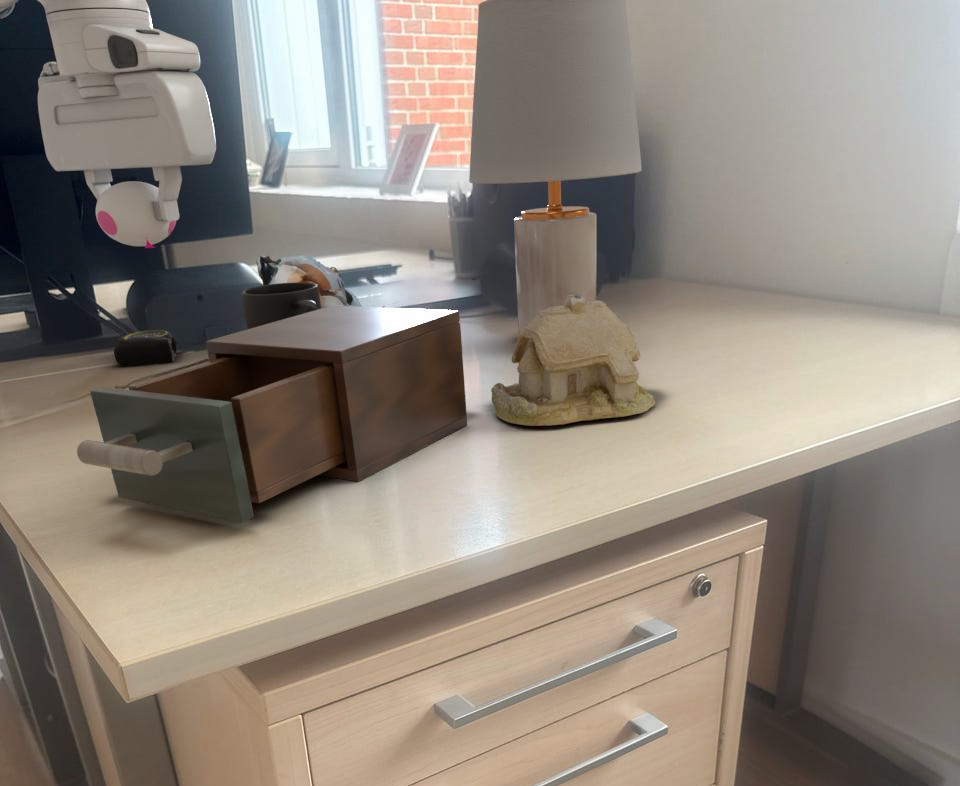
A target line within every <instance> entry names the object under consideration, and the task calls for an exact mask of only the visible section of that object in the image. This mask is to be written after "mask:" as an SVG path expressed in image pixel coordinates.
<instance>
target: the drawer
mask: <svg viewBox="0 0 960 786" xmlns="http://www.w3.org/2000/svg"><path fill="white" fill-rule="evenodd" d="M89 393H90V398H91V400H92V405H93V409H94V411H95V415H96V416H95V417H96V419H97V422H98V426H99V430H100V433H101V437H102V441H98V440H92V439H84V440H83V441H80V443H79V444H78V446H77V449H76V454H77V458H78V460H79V461H80V462H81V463H83V464H85V465H90V466H95V467H101V468H106V469H110V470H111V474H112V479H113V481H114V485H115V489H116V492H117V496H118V498H119V499H123V500H127V501H128V500H129V501H133V502H138V503H142V504H143V503H144V504H149V505H153V506H158V507H162V508H168V509H174V510H178V511H182V512H187V513H193V514H197V515H202V516H206V517H212V518H217V519H220V520H221V519H222V520H226V521H227V520H228V521H232V522H237V523H245V522H247V521H249V520H251V519H253V518H254V517H255V515H254V509H253V505H252V503H256V504H261V503H263V502H265V501H267V500H270V499H272V498H274V497H276V496H277V495H279V494H282V493H283V492H286V491H288V490H290V489H292V488H294V487H296V486H298V485H300V484H302V483H305V482H307V481H308V480H310V479H312V478H314V477H316V476H317V477H318V476H320V475H319V474H321V473H323V472H325V471H327V470H329V469H331V468H333V467H335V466H337V465H339V464H341V463H343V462H346V461H347V458H346V451H345V444H344V437H343V429H342V422H341V415H340V408H339V401H338V394H337V386H336V379H335V372H334V365H333V363H329V362H317V361H305V360H292V359H280V358H268V357H256V356H243V355H229V356H226V357H223V358H219V359H216V360H213V361H210V362H209V361H206V362H204V363H203V362H202V363H200V364H197V365H193V366H190V367H187V368H183V369H180V370H177V371H174V372H171V373H170V372H169V373H167V374H164V375H161V376H158V377H154V378H151V379H147V380H143V381H141V382H138V383H135V384H131V385H129V386H128V389H124V388H117V387H116V388H115V387H107V386H101V387H98V388H94V389H91V390H90V391H89Z"/></svg>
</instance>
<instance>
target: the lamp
mask: <svg viewBox="0 0 960 786" xmlns="http://www.w3.org/2000/svg"><path fill="white" fill-rule="evenodd" d="M477 7H478V9H477V10H478V12H477V13H478V15H477V35H476V49H475V50H476V52H475V65H474V67H475V68H474V83H473V98H472V99H473V100H472V117H471V137H470V139H471V140H470V155H469V156H470V157H469V175H468V176H469V177H468V182H469V183H470V184H477V185H479V184H480V185H500V184H501V185H502V184H524V183H525V184H527V183H529V184H530V183H546V182H547V197H548V199H547V201H548V203H547V204H548V205H547V207H538V208H531V209H525V210H522V211H521V212H520V213H521V215H520V216H516V217H515V218H513V231H514V232H513V233H514V256H515V257H514V258H515V281H516V282H515V283H516V303H517V305H516V307H517V325H518V326H517V328H518V331H517V332H518V335H519V334H520V332H521V331H522V329H523V328H524V327H527V325H528V324H529V323H531V322H532V321H533V320H534V318H535V317H536V316H537V315H538V314H539V311H540V310H545V309H547V308H550V307H555V306H565V304H566V299H567V296H568V295H574V294H578V295H582V296H583V297H584V298H585V302H588V301H598V300H597V299H598V298H597V297H598V296H597V295H598V294H597V290H598V289H597V287H598V286H597V280H598V279H597V278H598V277H597V274H598V273H597V269H598V267H597V261H598V260H597V259H598V258H597V256H598V255H597V248H598V247H597V245H598V244H597V240H598V239H597V233H598V232H597V225H598V224H597V223H598V221H597V220H598V219H597V213H595V212H592V211H590V207H588V206H581V205H580V206H579V205H577V206H575V205H570V206H569V205H568V206H563V204H562V185H561V184H562V182H563V181H574V180H585V179H586V180H587V179H596V178H597V179H598V178H607V177H608V178H609V177H617V176H625V175H632V174H637V173H641V172H642V170H643V168H642V157H641V156H642V155H641V147H640V135H639V125H638V113H637V104H636V93H635V83H634V72H633V64H632V63H633V62H632V55H631V45H630V33H629V27H628V26H629V25H628V15H627V3H626V0H484V1H481V2H480V3H479V4H478V6H477Z"/></svg>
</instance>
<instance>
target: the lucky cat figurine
mask: <svg viewBox="0 0 960 786" xmlns="http://www.w3.org/2000/svg"><path fill="white" fill-rule="evenodd" d="M256 266H257V267H256V268H257V274H258V276H259V278H260V279H261V281H262V286H263V285H270V284H279V283H294V282H305V283H314V284H317V285H318V287H319V294H320V301H321V309H322V308H325V307H329V306H333V305H335V306H358V307H363V305H362V304H361V302H360V300H359V298H358V297H357V295H355V294H354V293H353V292H352V291H351V290H349V289H348V288H346V284H345V283H344V281H343V279H342V278H341V273H340V271H339V270H338V268H336V267H335V266H330V267H329V266H326V265H324V264H322V263H321V262H320V261H317V259H316V258H313V257H312V256H310V255H304V254H300V255H288V256H285V257H282V258H278V259H277V260H273V259H272V258H271V257H270V256H269V255H267V254H263V255H261V256H259V257H258V258H257V259H256Z"/></svg>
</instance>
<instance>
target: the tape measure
mask: <svg viewBox="0 0 960 786" xmlns="http://www.w3.org/2000/svg"><path fill="white" fill-rule="evenodd" d="M177 349H178V343H177V341H176V338H174V336H173V335H172V334H171V332H169V331H167V330H161V329H160V330H159V329H158V330H157V329H155V330H144V331H137V332H136V331H135V332H131V333H128V334H124V335H122V336H120V337H119V338H117V340H116V345H115V347H114V349H113V355H114V359H115V362H116V363H117V364H118V365H119V366H120V367H125V368H127V367H128V368H129V367H139V366H148V365H158V364H168V363H174V362H175V359H176V358H177Z"/></svg>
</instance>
